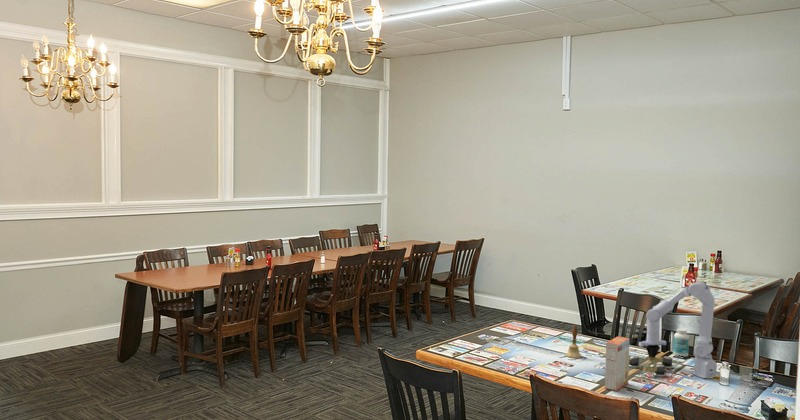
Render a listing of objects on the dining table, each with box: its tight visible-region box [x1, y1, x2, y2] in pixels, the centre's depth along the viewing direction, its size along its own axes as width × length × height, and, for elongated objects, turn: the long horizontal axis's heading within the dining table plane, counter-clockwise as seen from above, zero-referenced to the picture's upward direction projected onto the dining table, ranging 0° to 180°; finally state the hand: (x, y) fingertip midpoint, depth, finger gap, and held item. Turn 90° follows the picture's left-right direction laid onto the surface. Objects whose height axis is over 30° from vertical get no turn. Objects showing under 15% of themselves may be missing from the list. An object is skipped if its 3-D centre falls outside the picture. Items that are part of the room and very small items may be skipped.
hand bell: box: [564, 325, 583, 359], centre depth 329 cm, size 8×8×16 cm
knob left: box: [642, 363, 666, 374], centre depth 300 cm, size 11×5×4 cm, turn 105°
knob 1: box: [629, 355, 640, 366], centre depth 315 cm, size 11×5×4 cm, turn 65°
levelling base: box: [629, 362, 674, 378], centre depth 309 cm, size 20×21×2 cm
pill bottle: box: [672, 328, 690, 358], centre depth 335 cm, size 8×7×14 cm
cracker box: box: [604, 336, 630, 392], centre depth 285 cm, size 14×6×21 cm, turn 141°
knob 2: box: [648, 355, 673, 366], centre depth 314 cm, size 11×5×4 cm, turn 79°
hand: (651, 359), depth 318 cm, fingers closed
